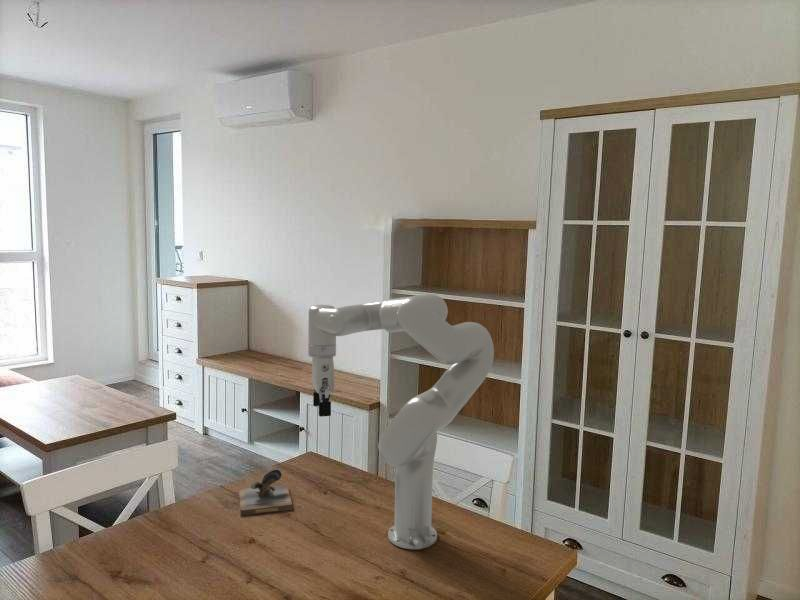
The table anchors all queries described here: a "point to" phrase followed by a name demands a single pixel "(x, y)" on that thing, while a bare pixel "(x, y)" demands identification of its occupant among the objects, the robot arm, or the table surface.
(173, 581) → the table surface
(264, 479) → the eagle figurine
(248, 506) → the wooden picture frame
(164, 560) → the table surface
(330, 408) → the robot arm
